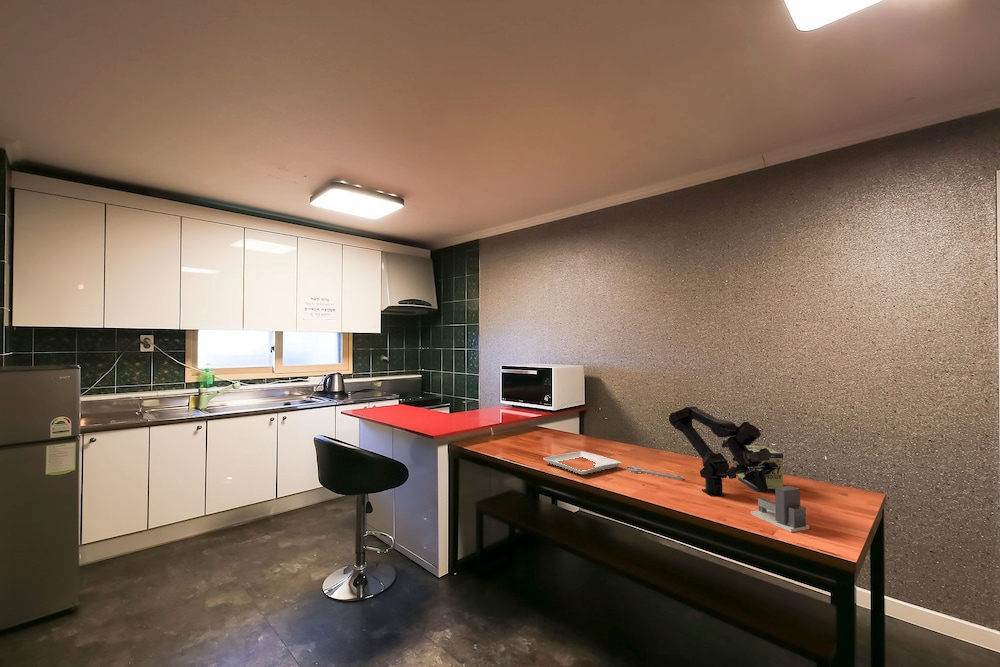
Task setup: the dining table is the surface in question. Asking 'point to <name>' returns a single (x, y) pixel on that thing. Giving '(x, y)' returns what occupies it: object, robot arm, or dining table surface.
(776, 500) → the tall gray block
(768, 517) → the white board
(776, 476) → the protein box
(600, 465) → the square plate
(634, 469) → the adjustable wrench
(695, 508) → the dining table surface
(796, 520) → the grey block cluster
